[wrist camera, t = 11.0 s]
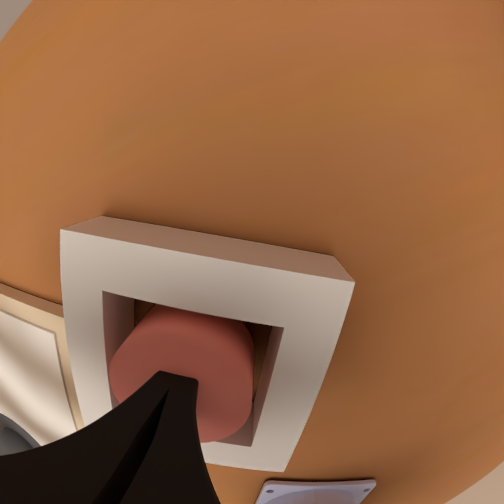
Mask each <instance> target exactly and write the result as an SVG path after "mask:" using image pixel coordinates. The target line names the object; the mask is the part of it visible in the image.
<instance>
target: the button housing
mask: <svg viewBox="0 0 504 504" xmlns="http://www.w3.org/2000/svg"><path fill="white" fill-rule="evenodd" d="M60 269H61V289H62V303H63V313H64V323H65V331H66V339H67V346H68V352H69V358H70V364H71V370H72V375H73V380H74V385H75V389H76V394H77V398H78V402H79V407H80V411H81V414H82V418H83V422H84V426H85V427H86V426H87V425H89V424H91V423H92V422H94V421H96V420H97V419H99V418H100V417H102V416H103V415H105V414H106V413H108V412H109V411H111V410H112V409H113V408H115V407H116V406H118V405H119V404H120V403H119V402H118V400H117V399H116V397H115V395H114V393H113V390H112V387H111V384H110V378H109V370H110V364H111V361H112V358H113V356H114V355H115V353H116V352H117V350H118V349H119V348H120V346H121V345H122V344H123V343H124V341H125V340H126V339H127V337H128V336H129V335H130V334H131V332H132V331H133V330H134V302H135V299H139V300H143V301H147V302H152V303H156V304H161V305H165V306H170V307H175V308H179V309H184V310H189V311H194V312H199V313H204V314H209V315H214V316H219V317H225V318H230V319H236V320H241V321H247V322H253V323H259V324H265V325H272V329H271V333H270V338H269V342H268V346H267V350H266V355H265V359H264V363H263V367H262V371H261V375H260V379H259V383H258V387H257V391H256V395H255V399H254V402H252V406H251V412H250V414H249V417H248V419H247V421H246V422H245V424H244V425H243V426H242V427H241V428H240V429H239V430H238V431H237V432H235V433H234V434H232V435H230V436H228V437H226V438H224V439H221V440H218V441H213V442H207V443H200V444H201V449H202V453H203V457H204V460H205V462H206V463H211V464H217V465H223V466H230V467H237V468H244V469H253V470H262V471H274V472H284V470H285V468H286V466H287V464H288V462H289V460H290V458H291V456H292V453H293V451H294V449H295V447H296V445H297V443H298V440H299V438H300V436H301V434H302V431H303V429H304V427H305V424H306V422H307V420H308V417H309V415H310V413H311V410H312V408H313V405H314V403H315V400H316V398H317V395H318V393H319V390H320V388H321V385H322V382H323V380H324V377H325V374H326V372H327V369H328V366H329V363H330V361H331V358H332V355H333V352H334V349H335V346H336V343H337V340H338V337H339V334H340V331H341V328H342V325H343V322H344V319H345V316H346V312H347V309H348V306H349V303H350V299H351V296H352V292H353V289H354V285H355V281H354V280H353V279H352V278H351V276H350V275H349V274H348V273H347V271H346V270H345V269H344V268H343V266H342V265H341V264H340V263H339V262H338V260H337V259H336V258H335V257H334V256H331V255H325V254H320V253H314V252H309V251H303V250H298V249H292V248H287V247H281V246H275V245H270V244H264V243H259V242H253V241H247V240H242V239H236V238H230V237H224V236H219V235H213V234H207V233H201V232H195V231H190V230H184V229H178V228H172V227H166V226H160V225H154V224H148V223H142V222H136V221H130V220H124V219H118V218H112V217H106V216H99V217H96V218H93V219H89V220H86V221H83V222H80V223H77V224H74V225H71V226H68V227H65V228H62V229H60Z"/></svg>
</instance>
